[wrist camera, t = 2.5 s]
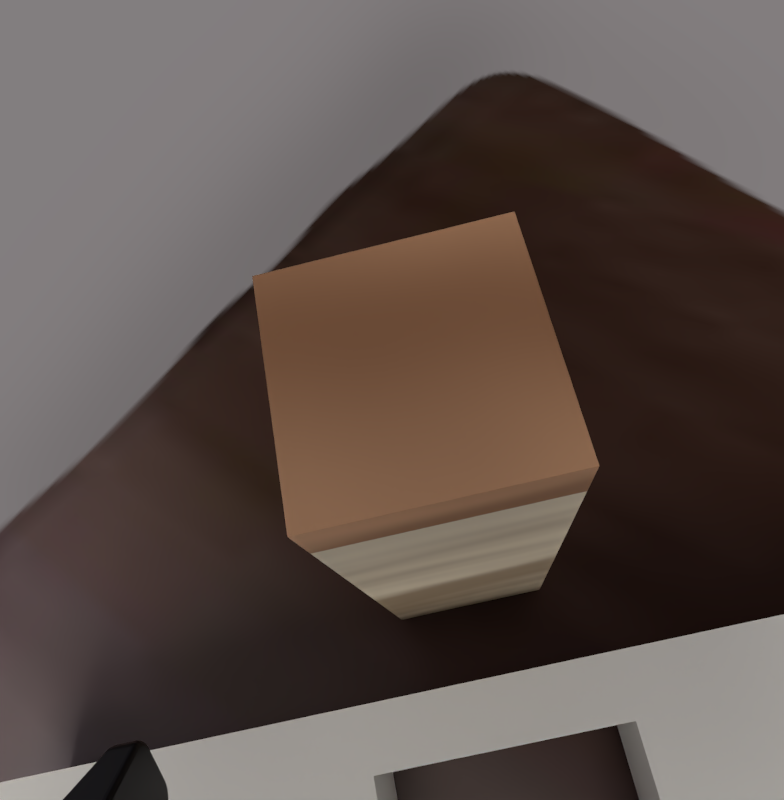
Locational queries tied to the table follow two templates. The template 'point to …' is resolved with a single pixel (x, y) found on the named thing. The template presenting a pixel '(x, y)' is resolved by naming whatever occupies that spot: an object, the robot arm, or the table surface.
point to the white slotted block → (515, 728)
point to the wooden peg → (424, 417)
